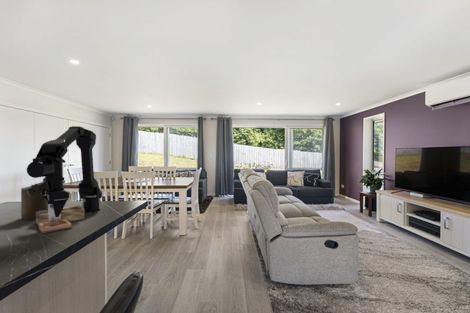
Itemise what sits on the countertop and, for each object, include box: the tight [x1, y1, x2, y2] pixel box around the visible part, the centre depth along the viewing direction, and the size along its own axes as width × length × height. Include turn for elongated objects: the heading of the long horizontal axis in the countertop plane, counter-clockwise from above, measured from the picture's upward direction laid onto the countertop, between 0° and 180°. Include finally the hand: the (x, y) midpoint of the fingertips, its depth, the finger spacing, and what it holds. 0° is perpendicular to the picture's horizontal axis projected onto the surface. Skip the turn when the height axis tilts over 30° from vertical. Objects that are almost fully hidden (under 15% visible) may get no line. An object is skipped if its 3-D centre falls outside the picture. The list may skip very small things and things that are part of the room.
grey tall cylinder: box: [48, 203, 61, 227], centre depth 99 cm, size 4×4×9 cm
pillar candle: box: [20, 186, 48, 221], centre depth 115 cm, size 10×10×15 cm
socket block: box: [35, 205, 85, 226], centre depth 109 cm, size 16×8×4 cm, turn 135°
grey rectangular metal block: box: [36, 210, 48, 219], centre depth 105 cm, size 6×3×2 cm, turn 135°
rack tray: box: [38, 219, 72, 234], centre depth 99 cm, size 9×9×2 cm
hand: (54, 214), depth 99 cm, fingers open, 9 cm apart
